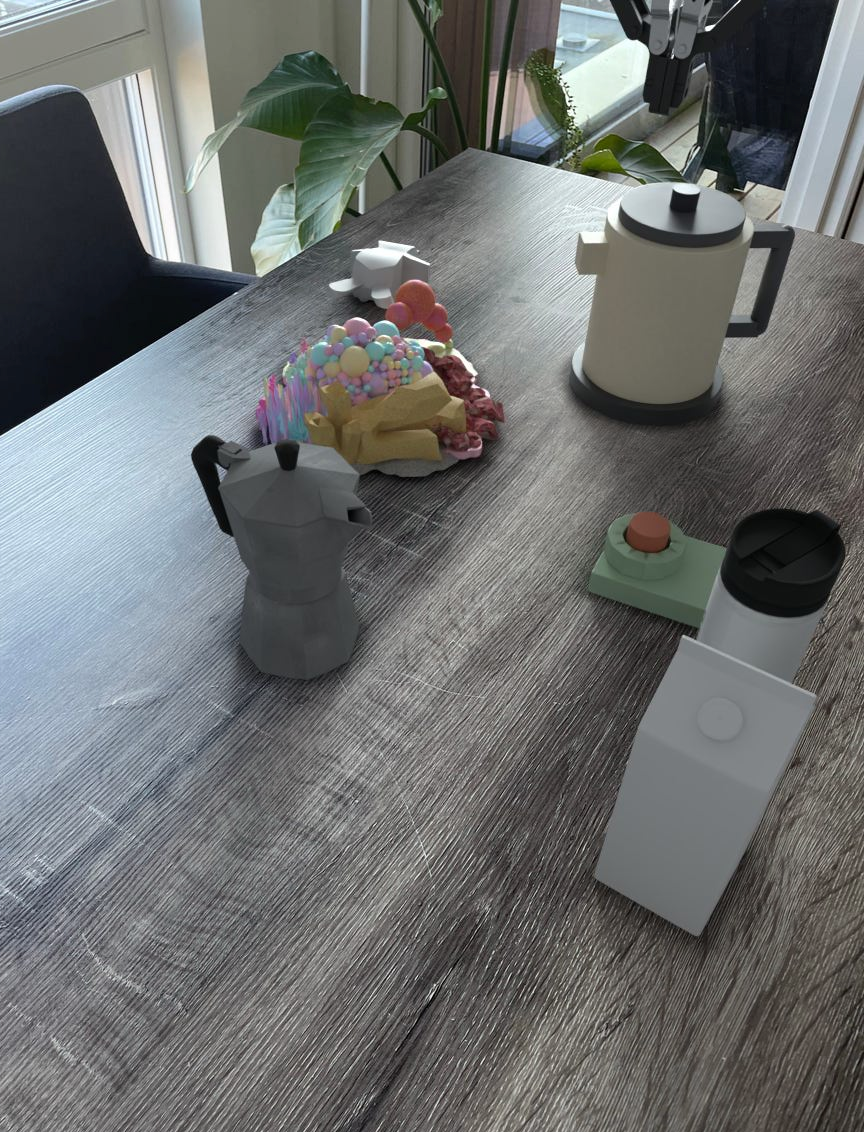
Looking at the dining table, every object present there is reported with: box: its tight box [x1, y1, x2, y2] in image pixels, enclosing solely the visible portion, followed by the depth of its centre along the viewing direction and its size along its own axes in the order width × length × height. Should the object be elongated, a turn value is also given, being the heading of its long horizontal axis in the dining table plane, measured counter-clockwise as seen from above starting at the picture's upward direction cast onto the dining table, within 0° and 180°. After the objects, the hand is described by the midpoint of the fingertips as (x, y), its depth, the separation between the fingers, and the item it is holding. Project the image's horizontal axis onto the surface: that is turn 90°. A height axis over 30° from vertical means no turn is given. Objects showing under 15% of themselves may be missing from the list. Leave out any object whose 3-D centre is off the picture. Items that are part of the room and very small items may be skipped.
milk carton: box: [593, 634, 818, 937], centre depth 59 cm, size 7×7×19 cm
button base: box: [587, 513, 727, 629], centre depth 82 cm, size 14×8×4 cm, turn 63°
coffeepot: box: [190, 434, 373, 681], centre depth 73 cm, size 15×9×18 cm, turn 54°
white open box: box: [324, 240, 431, 310], centre depth 115 cm, size 10×5×15 cm
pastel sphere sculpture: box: [255, 280, 505, 478], centre depth 98 cm, size 25×24×9 cm
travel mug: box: [695, 507, 847, 684], centre depth 65 cm, size 6×7×20 cm
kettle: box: [569, 181, 796, 427], centre depth 98 cm, size 16×20×20 cm
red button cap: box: [626, 511, 671, 553], centre depth 82 cm, size 3×3×2 cm
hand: (661, 110), depth 73 cm, fingers closed
